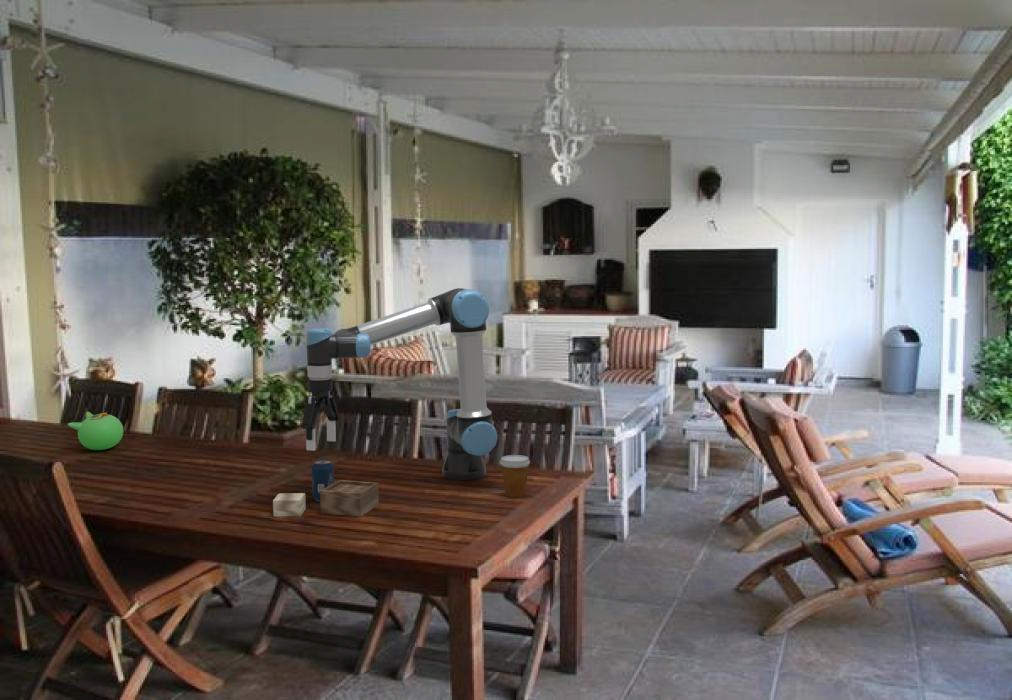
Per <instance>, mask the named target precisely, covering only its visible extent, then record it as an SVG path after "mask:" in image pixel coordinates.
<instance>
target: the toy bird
mask: <svg viewBox="0 0 1012 700" xmlns="http://www.w3.org/2000/svg"><path fill="white" fill-rule="evenodd" d="M67 426H68V427H70V428H71V429H74V430H76V431H77V438H78V441H79V442H80V443H81V445H82V446H83V447H84V448H85V449H89V450H92V451H104V450H108V449H111V448H113V447H115V446H116V445H117V444H119V443H120V442H121V440H122V438H123V436H124V426H123V423H122V422H121V420H120V419H118V418H117V417H116V416H114V415H112V414H108V412H102V413H97V414H92V413H91V412H89V411H86V412H85V419H83V420H82V422H81V421H80V422H69V423H67Z"/></svg>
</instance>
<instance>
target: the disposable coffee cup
mask: <svg viewBox="0 0 1012 700" xmlns="http://www.w3.org/2000/svg"><path fill="white" fill-rule="evenodd" d="M499 463H500V466H501V471H502V480H503V486H504V495H505V496H506V497H507V498H508V497H509V498H523V497H525V495H526V490H527V481H528V472H529V466H530V463H531V461H530V459H529V457H528V456H526V455H520V454H510V455H509V454H508V455H504V456H502V457H501V459H500V461H499Z"/></svg>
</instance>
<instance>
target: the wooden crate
mask: <svg viewBox="0 0 1012 700" xmlns="http://www.w3.org/2000/svg"><path fill="white" fill-rule="evenodd" d="M319 502H320V514H322V515H323V514H324V515H325V514H327V515H337V516H347V517H351V516H352V517H360V518H361V517H362V516H364V515H366V514H367V513H369V512H370V511H371V510H373V509H374V508H376V507H378V506H379V503H380V502H379V482H374V481H373V482H371V481H360V480H359V481H358V480H346V479H345V480H343V479H339V480H337V481H334V483H333V484H332V485H330V486H328V487H326V488H324V489H322V490H321V491H320V501H319Z"/></svg>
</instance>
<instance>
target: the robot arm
mask: <svg viewBox="0 0 1012 700" xmlns="http://www.w3.org/2000/svg"><path fill="white" fill-rule="evenodd" d="M489 315H490V306H489V302H488V300H487V298H486V297H485V296H484V295H483V294H482V293H481V292H479V291H477V290H474V289H466V288H458V287H457V288H454V289H451V290H448V291H446V292H444V293H441V294H438V295H436V296H433V297H429V298H428V300H427V302H425V303H422V304H418V305H416V306H413V307H409V308H406V309H403V310H401V311H397V312H393V313H392V314H388V315H385V316H383V317H380V318H376V319H373V320H370V321H367V322H364V323H361V324H358V325H356V326H352V327H350V328H349V327H348V328H341V329H338V330H336V331H335V332H334V333H333V334H332V330H331V329H330V328H325V327H323V328H322V327H321V328H320V327H315V328H310V329H308V330H307V332H306V344H305V345H306V359H307V360H306V363H307V364H306V365H307V367H306V370H307V378H308V380H307V391H308V392H310V393H311V396H306V398H305V399H306V400H305V407H304V412H303V418H302V423H301V429H302V430H305V439H306V441H305V445H306V446H305V447H306V451H316V429H315V428H314V427H315V425H316V422H317V418H318V415H319V413H320V412H321V411H322V409H323V413H324V414H325V416H326V418H327V419H328V420H326V440H327V442H335V443H336V441H337V440H336V439H337V437H336V434H337V433H336V432H337V430H336V427H337V426H336V422H337V421H339V417H340V413H339V411H338V406H337V403H336V399H335V394H334V393H335V392H334V390H333V379H332V377H333V362H332V361H333V359H361V358H362V359H363V358H368V357H370V355H371V347H372V345H375V344H379V343H381V342H384V341H387V340H390V339H393V338H397V337H399V336H402V335H406V334H408V333H409V334H410V333H412V332H414V331H417V330H421V329H423V328H426V327H429V326H433V325H436V326H438V327H439V326H442V325H445V324H449V327H450V334H452V335H453V336H454V337H455V345H456V346H455V347H456V359H457V360H456V361H457V374H458V388H459V389H458V391H459V403H460V404H459V406H460V408H456V409H455V408H454V409H449V410H448V411H447V412H446V419H445V420H446V421H445V422H446V455H445V459H444V462H443V466H442V469H441V471H442V474H441V475H442V477H444V478H446V479H449V480H459V481H463V480H464V481H469V480H477V479H480V478H484V477H485V476H486V475H487V467H486V464H485V460H484V458H483V456H484V455H486V454H489V453H490V452H491V451H492V450H493V449H494V447H495V446H496V445H497V442H498V432H497V430H496V427H495V426H494V425H493V413H492V410H490V409H489V408H488V406H487V392H486V375H485V361H484V344H483V335H484V334H485V332H486V331H487V319H488V318H489Z"/></svg>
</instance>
